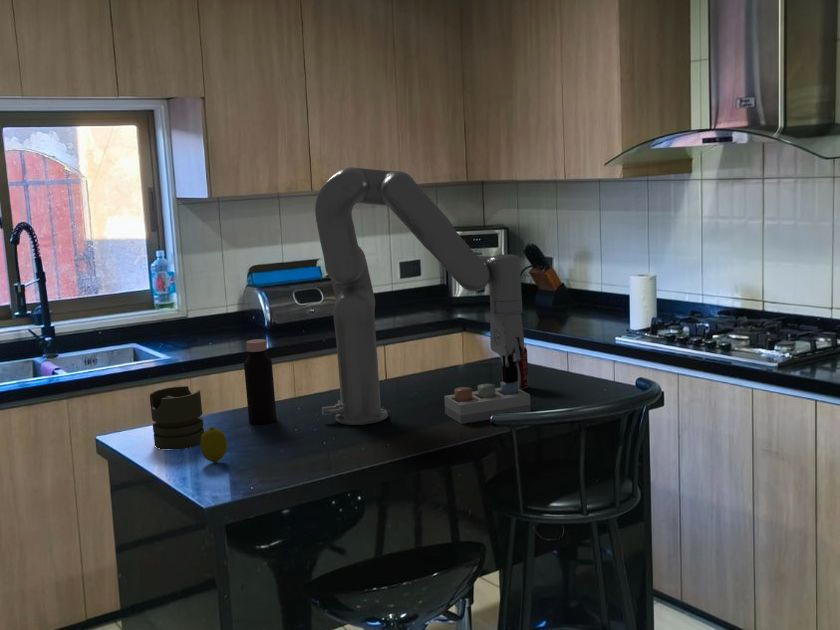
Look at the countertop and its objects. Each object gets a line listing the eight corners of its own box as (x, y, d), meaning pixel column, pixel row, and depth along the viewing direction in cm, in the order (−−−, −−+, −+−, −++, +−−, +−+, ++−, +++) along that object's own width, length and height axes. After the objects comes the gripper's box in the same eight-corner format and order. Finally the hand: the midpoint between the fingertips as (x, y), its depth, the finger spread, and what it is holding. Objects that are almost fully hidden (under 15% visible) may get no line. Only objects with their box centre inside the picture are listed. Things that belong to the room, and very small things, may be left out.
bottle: (274, 415, 252) (267, 337, 248) (279, 422, 245) (272, 341, 242) (247, 419, 250) (239, 340, 246) (251, 426, 243) (244, 345, 240)
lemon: (229, 458, 219) (226, 422, 218) (226, 466, 213) (222, 429, 212) (204, 459, 219) (200, 424, 217) (199, 468, 213) (196, 431, 212)
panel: (461, 423, 235) (460, 405, 234) (445, 413, 244) (444, 395, 243) (530, 412, 241) (529, 394, 240) (512, 403, 250) (511, 385, 249)
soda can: (528, 385, 268) (526, 340, 265) (528, 391, 261) (526, 346, 259) (502, 386, 268) (501, 341, 266) (502, 392, 262) (500, 347, 260)
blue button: (505, 397, 241) (504, 385, 241) (498, 393, 245) (497, 381, 245) (521, 395, 243) (520, 383, 242) (513, 391, 247) (513, 379, 246)
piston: (163, 401, 223) (140, 393, 232) (168, 453, 225) (146, 443, 234) (209, 391, 230) (185, 383, 239) (213, 441, 232) (190, 432, 241)
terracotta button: (459, 404, 237) (458, 392, 237) (452, 400, 241) (451, 388, 241) (475, 402, 239) (474, 389, 238) (468, 398, 243) (467, 386, 242)
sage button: (482, 401, 239) (481, 388, 239) (475, 397, 243) (474, 385, 243) (498, 398, 241) (498, 386, 240) (491, 394, 245) (490, 382, 244)
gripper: (479, 304, 246) (483, 377, 249) (505, 313, 232) (509, 390, 235) (507, 301, 248) (511, 373, 252) (534, 309, 235) (538, 385, 238)
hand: (510, 381), depth 243 cm, fingers closed
